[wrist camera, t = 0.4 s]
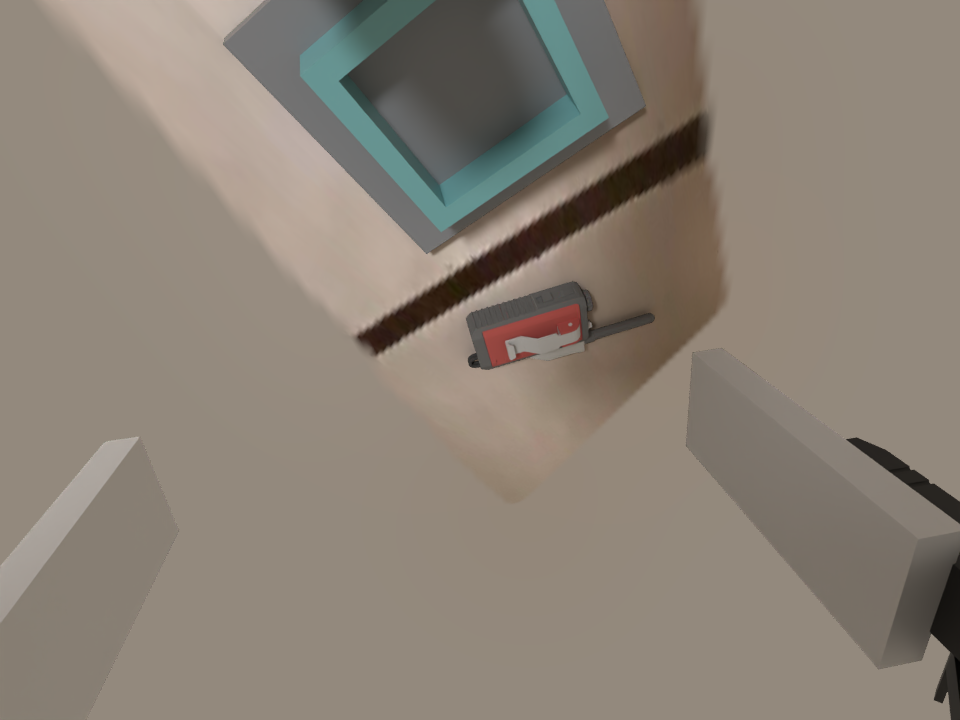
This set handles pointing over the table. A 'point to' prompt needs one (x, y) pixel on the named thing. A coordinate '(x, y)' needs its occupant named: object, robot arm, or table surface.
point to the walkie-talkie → (538, 327)
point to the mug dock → (442, 94)
